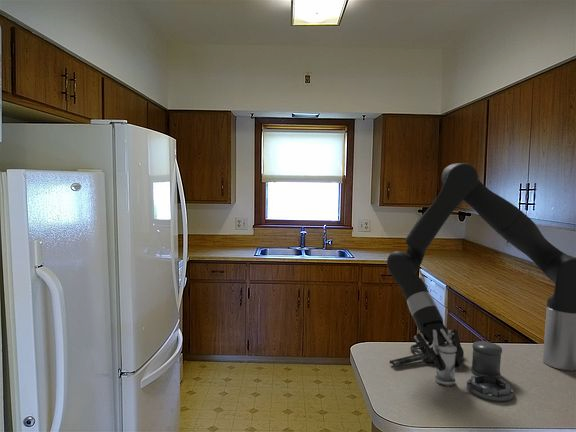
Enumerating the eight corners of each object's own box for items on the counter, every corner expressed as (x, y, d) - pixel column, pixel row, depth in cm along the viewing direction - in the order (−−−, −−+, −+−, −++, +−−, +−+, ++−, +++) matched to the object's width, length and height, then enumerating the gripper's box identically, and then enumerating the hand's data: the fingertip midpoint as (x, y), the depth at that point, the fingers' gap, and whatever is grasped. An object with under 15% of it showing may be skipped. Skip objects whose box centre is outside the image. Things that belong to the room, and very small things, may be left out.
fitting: (446, 376, 116) (448, 341, 115) (459, 384, 111) (461, 348, 110) (431, 378, 114) (432, 343, 113) (443, 387, 109) (445, 351, 108)
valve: (439, 350, 139) (474, 361, 126) (374, 365, 130) (404, 379, 116) (437, 331, 140) (472, 340, 126) (372, 344, 130) (402, 356, 116)
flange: (489, 378, 115) (490, 371, 115) (523, 398, 104) (524, 390, 104) (457, 384, 111) (458, 376, 111) (489, 405, 101) (490, 396, 101)
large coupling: (486, 365, 123) (488, 339, 122) (506, 377, 116) (508, 350, 115) (465, 368, 121) (466, 342, 120) (484, 381, 113) (486, 353, 113)
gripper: (409, 306, 115) (435, 366, 105) (450, 302, 120) (480, 359, 110) (397, 319, 121) (421, 377, 111) (437, 314, 126) (464, 370, 115)
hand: (450, 368), depth 110 cm, fingers closed on fitting, 4 cm apart
